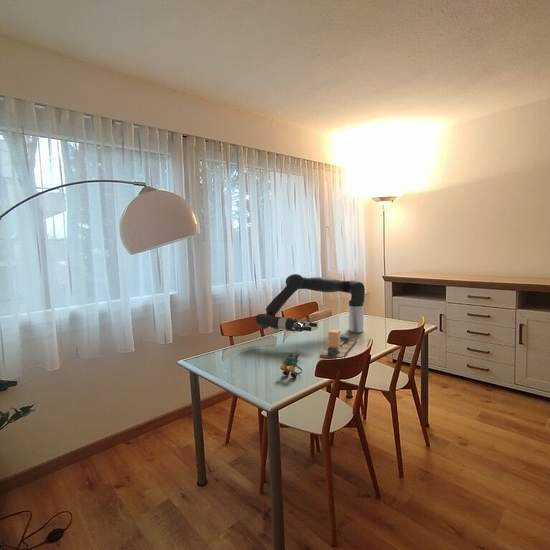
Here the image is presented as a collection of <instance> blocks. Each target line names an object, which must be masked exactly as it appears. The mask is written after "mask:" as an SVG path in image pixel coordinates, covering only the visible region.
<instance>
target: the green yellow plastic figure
mask: <svg viewBox="0 0 550 550" xmlns="http://www.w3.org/2000/svg"><path fill="white" fill-rule="evenodd" d="M293 355H294V354H293V353H291V352H290V353H289V355H288V356H286V358H285V359H284V361H283V363H282V364H281V365H280V367H279V369H280V370H282V374H283V375H284V376H285V375H288V376H287V377H289V376H290V377H291V378H293V377H296V378H297V377H298V375H300V374H302V373H303V369H302V367H300V366H299V365H298V364H297V363H298V361H299V360H298V359H299V356H300V355H299V354H295V356H294V357H293ZM296 369H299V370H300V371H301V372H297V371H295V370H296Z"/></svg>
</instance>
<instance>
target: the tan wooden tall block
mask: <svg viewBox="0 0 550 550" xmlns="http://www.w3.org/2000/svg"><path fill="white" fill-rule="evenodd" d="M340 336H341V329H330V330H329V331H328V336H327V337H328V346H329V347H331V348H338V350H339V349H340V348H341V340H340Z"/></svg>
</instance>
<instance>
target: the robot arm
mask: <svg viewBox="0 0 550 550" xmlns="http://www.w3.org/2000/svg"><path fill="white" fill-rule="evenodd" d="M285 284H286V285H285V287H284V288H283V289H282V290H281V292H280V293H279V294H277V295H276V296H275V297H274V298H273V299H272V300H271V301H270V303H269V304H268V305H267V306H266V308H265V312H266V313H258V314H257V315H256V316H255V318H254V320H255V324H257V325H258V326H259V328H260V329H261V330H267V329H268V328H269V327H270V328H272V329H275V330H279V331H280V330H281V331H285V332H300V333H301V332H305V331H307V332H311V331H312V328H317V327H318V323H317V322H312V321H311V320H300V321H298V320H297V318H296V317H295V318H294V317H286V316H283V317H282V316H276V315H277V314H278V313H279V311H280V310H281V309H282V308H283V306H284V305H285V304H286V303H287V301H288V300H289V299H290V298H291V296H293V295H294V294H295V293H296V292H297V291H298V290H310V291H315V292H321V293H336V292H337V293H338V292H342V293H346V294H350V296H351V298H350V300H349V301H348V331H349V332H351V333H363V332H364V302H365V297H366V295H365V293H366V292H365V285H364V283H362V281H358V280H341V279H340V280H339V279H336V278H330V277H325V276H324V277H323V276H322V277H320V276H319V277H318V276H317V277H315V276H314V277H304V276H302V275H300V274H299V273H294V274H290V275H289V276H287V277H286V279H285Z"/></svg>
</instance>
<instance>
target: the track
mask: <svg viewBox="0 0 550 550" xmlns="http://www.w3.org/2000/svg"><path fill="white" fill-rule="evenodd" d="M340 340H341V348H340V349H339V350H338V348H331V347H329V345H328V346H327V347H326V348H324V350H323V351H321V353H319V358H324V359H329V358H343V357H344V358H345V357H346V356H347V355H348V354H349V352H351V350H352V349H353V347H354V346H355V345H356V344H357V339H351V338H350V335H345V334H344V335H342V334H340Z"/></svg>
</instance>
